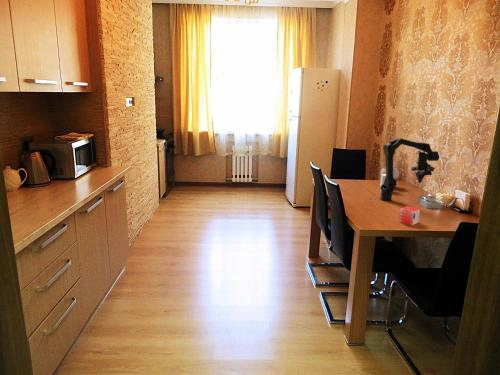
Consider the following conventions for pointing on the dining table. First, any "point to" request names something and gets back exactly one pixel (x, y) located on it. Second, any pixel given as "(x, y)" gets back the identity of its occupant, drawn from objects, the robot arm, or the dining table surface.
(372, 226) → the dining table surface
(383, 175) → the supplement box
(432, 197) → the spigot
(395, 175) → the chalice
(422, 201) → the socket
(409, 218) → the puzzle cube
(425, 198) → the lock pin
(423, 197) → the pin mount
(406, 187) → the dining table surface
